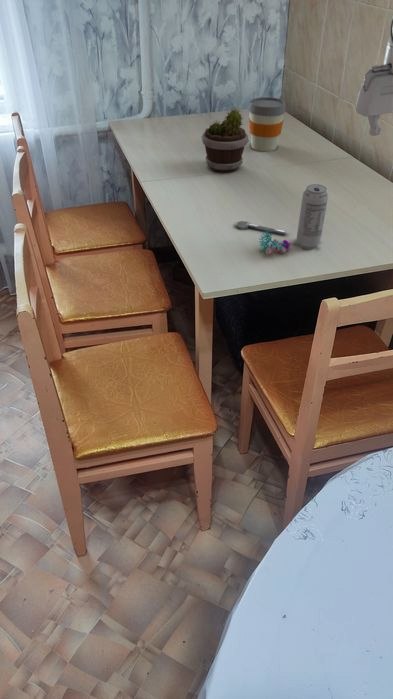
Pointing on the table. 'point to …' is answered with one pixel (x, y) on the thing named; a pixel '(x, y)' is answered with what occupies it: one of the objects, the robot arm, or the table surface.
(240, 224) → the grey flat-headed rod tool
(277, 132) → the reusable coffee cup
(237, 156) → the flowerpot
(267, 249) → the anatomy model
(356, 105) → the robot arm
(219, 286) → the table surface
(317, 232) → the energy drink can
